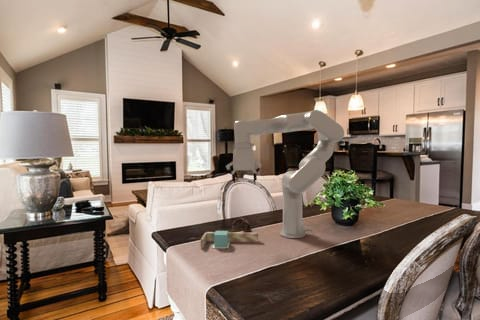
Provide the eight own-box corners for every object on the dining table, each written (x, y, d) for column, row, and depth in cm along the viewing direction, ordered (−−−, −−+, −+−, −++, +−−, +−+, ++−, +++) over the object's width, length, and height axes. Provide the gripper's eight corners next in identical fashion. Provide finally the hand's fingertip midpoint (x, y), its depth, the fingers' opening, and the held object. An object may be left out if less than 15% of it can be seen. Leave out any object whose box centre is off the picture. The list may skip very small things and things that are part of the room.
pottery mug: (253, 235, 136) (246, 223, 134) (237, 243, 138) (229, 230, 136) (253, 223, 148) (245, 211, 145) (237, 230, 149) (230, 218, 147)
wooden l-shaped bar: (258, 241, 128) (258, 232, 127) (258, 249, 118) (258, 240, 117) (205, 240, 129) (205, 232, 129) (200, 248, 119) (200, 239, 119)
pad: (229, 242, 126) (229, 242, 126) (228, 248, 119) (228, 247, 119) (214, 242, 126) (214, 241, 126) (212, 248, 119) (212, 247, 119)
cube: (228, 242, 125) (228, 230, 125) (226, 247, 120) (226, 234, 119) (216, 242, 126) (216, 230, 125) (214, 247, 120) (214, 234, 120)
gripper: (260, 145, 134) (262, 180, 135) (225, 147, 135) (227, 181, 136) (261, 145, 127) (262, 182, 128) (224, 147, 128) (226, 184, 129)
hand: (244, 182), depth 132 cm, fingers open, 9 cm apart
